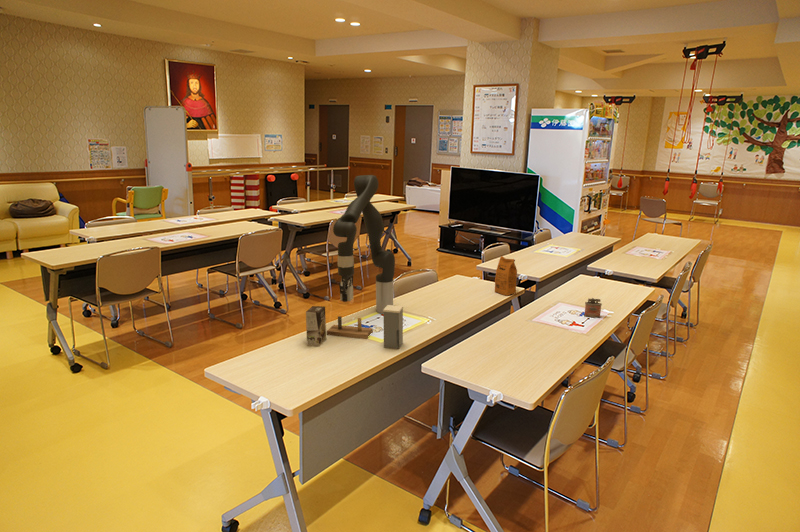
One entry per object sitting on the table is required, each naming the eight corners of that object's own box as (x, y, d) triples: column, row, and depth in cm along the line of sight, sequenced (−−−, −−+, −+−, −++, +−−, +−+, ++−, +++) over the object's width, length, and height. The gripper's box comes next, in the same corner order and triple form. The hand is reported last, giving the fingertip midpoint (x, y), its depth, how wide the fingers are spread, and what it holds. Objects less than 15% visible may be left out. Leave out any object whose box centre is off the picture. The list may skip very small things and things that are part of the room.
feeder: (387, 341, 239) (387, 304, 235) (402, 343, 237) (403, 306, 233) (383, 347, 232) (383, 309, 228) (399, 349, 231) (399, 311, 226)
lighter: (584, 317, 272) (585, 298, 270) (583, 314, 275) (585, 296, 273) (600, 318, 270) (602, 300, 267) (600, 316, 273) (601, 298, 271)
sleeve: (343, 300, 248) (343, 284, 246) (353, 301, 246) (353, 285, 245) (339, 303, 243) (339, 287, 241) (350, 304, 242) (350, 288, 240)
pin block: (333, 328, 256) (333, 313, 254) (372, 332, 251) (372, 316, 249) (326, 335, 247) (326, 319, 245) (366, 338, 242) (366, 322, 240)
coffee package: (503, 289, 322) (505, 254, 317) (518, 294, 312) (520, 258, 307) (491, 291, 317) (493, 256, 312) (505, 296, 307) (507, 260, 301)
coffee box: (320, 346, 234) (318, 312, 230) (306, 345, 235) (305, 311, 231) (326, 339, 242) (325, 306, 238) (313, 338, 243) (312, 305, 240)
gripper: (343, 260, 248) (344, 294, 252) (332, 267, 234) (334, 303, 238) (358, 261, 246) (359, 295, 250) (348, 268, 233) (349, 304, 237)
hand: (346, 299), depth 244 cm, fingers closed on sleeve, 5 cm apart
